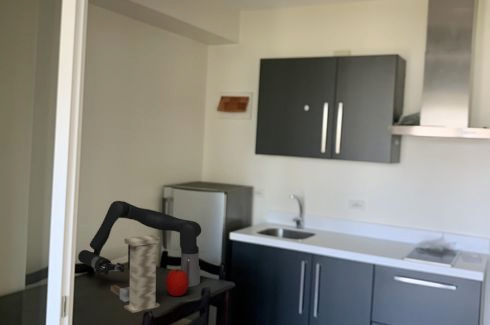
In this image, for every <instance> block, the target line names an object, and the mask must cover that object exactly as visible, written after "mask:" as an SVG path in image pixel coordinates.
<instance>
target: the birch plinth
mask: <svg viewBox="0 0 490 325" xmlns="http://www.w3.org/2000/svg"><path fill="white" fill-rule="evenodd" d="M133 237H134V238H132V237H128V238H124V240H123V241H124V244H126V245H127V246H128V245H130V270H129V287H130V301H129V304H126V305H123V308H124V309H125V310H127V311H129V312H130V313H132V314H134V313H138V312H141V311H146V310H151V309H154V308H159V307H160V303H158V302H157V301H156V289H157V288H156V285H157V284H156V283H157V282H156V279H157V276H156V275H157V274H156V272H157V244H159V243H161V237H158V236H155V235H153V234H150V235H143V236H133Z"/></svg>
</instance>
